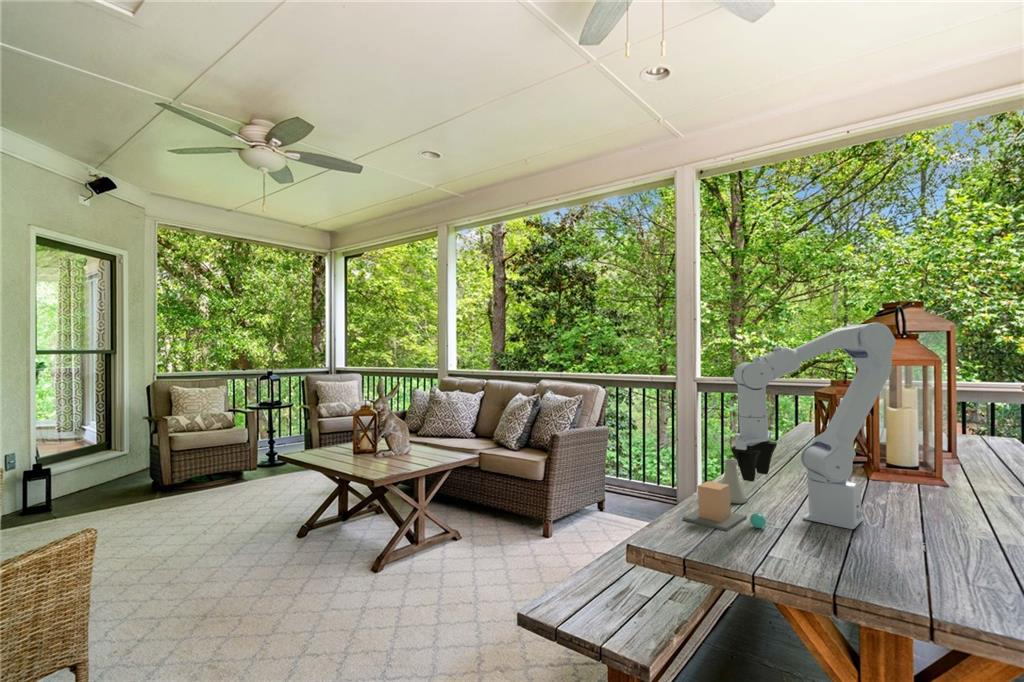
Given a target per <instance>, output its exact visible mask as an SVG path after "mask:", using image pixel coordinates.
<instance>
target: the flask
mask: <svg viewBox="0 0 1024 682" xmlns="http://www.w3.org/2000/svg"><path fill="white" fill-rule="evenodd" d="M723 463H724V465H725V466H724V467H725V469H724V474H723V475H724V476H723V479H722V481H721V482H722V484H727V485H730V504H744V503H747V502H749V500H748V497H747V495H746V493H745V490H744V488H743V485H742V482H741V480H740V477H739V474H738V469H737V464H738V462H737V460H736V458H735V459H733V458H726V459H723Z"/></svg>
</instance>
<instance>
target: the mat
mask: <svg viewBox="0 0 1024 682" xmlns="http://www.w3.org/2000/svg"><path fill="white" fill-rule="evenodd" d="M747 518H748V517H747V515H743V514H740V513H737V512H736V513H735V512H732V511H731V517H729V518H727V519H726V520H724V521H722V522H718V521H714V520H710V519H706V518H701V517H699V508H698V509H696V510H693V511H692V512H689V513H688V514H685V515H684V516H682V520H683V521H686V522H690V523H695V524H698V525H701V526H706V527H709V528H714V529H716V530H717V529H719V530H722V531H725V532H727V531H729V530H730V529H733V528H734V527H736V526H737V525H738V524H741V523H742V522H744V521H745V520H747Z"/></svg>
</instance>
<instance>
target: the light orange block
mask: <svg viewBox="0 0 1024 682" xmlns="http://www.w3.org/2000/svg"><path fill="white" fill-rule="evenodd" d="M697 498H698V499H697V501H698V509H699V517H701V518H706V519H710V520H714V521H718V522H722V521H724V520H726V519H727V518H729V517H731V512H732V509H731V503H730V485H727V484H722V483H721V482H714V481H710V480H708V481H704V482H703V483H701V484H698V485H697Z"/></svg>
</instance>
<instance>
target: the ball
mask: <svg viewBox="0 0 1024 682" xmlns="http://www.w3.org/2000/svg"><path fill="white" fill-rule="evenodd" d="M749 521H750V524H751V526H752V527H754V528H755V529H763V528H764V527H765V526H766V523H767V522H766V521H767V520H766V518H765V516H764V515H763V514H762V513H758V512H755V513H753V514H751V516H750V518H749Z"/></svg>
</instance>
